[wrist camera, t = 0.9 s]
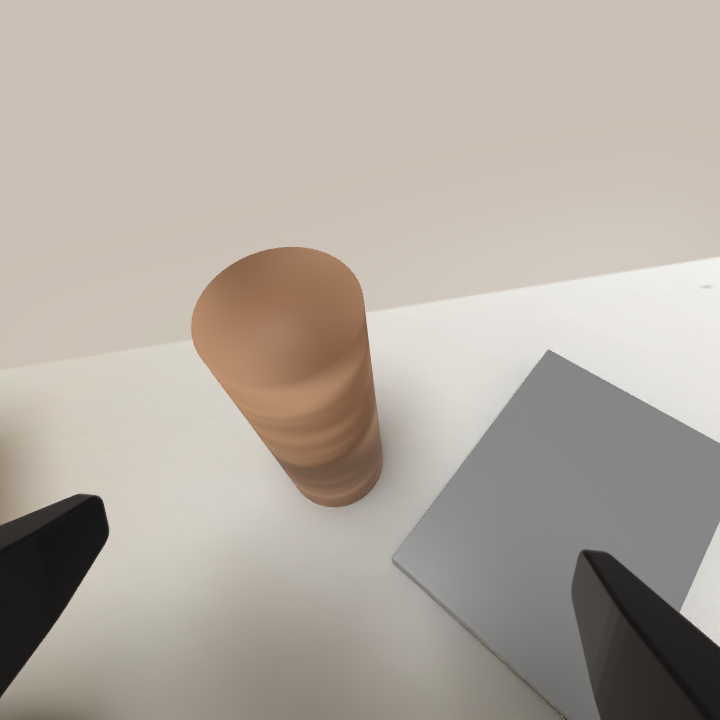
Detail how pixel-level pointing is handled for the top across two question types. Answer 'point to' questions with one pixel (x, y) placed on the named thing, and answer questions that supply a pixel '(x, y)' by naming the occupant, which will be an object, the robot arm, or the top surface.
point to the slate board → (564, 520)
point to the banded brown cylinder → (297, 366)
